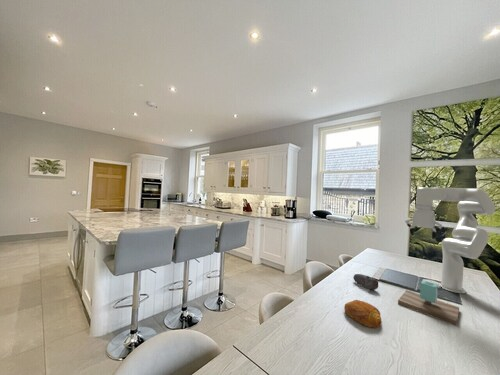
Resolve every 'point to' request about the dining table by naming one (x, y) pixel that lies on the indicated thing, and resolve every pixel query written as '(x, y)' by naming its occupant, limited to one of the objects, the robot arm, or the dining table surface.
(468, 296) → the dining table surface
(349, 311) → the croissant
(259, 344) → the dining table surface
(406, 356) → the dining table surface
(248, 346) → the dining table surface
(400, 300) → the stud board
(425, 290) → the teal block
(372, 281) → the perforated stone tool
